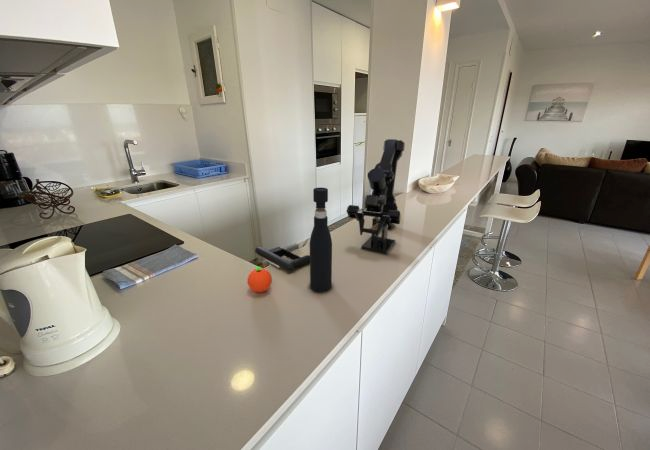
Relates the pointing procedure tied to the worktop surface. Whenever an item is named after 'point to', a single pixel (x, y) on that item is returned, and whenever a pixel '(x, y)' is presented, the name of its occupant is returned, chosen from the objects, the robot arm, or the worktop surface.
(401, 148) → the robot arm
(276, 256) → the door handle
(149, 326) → the worktop surface
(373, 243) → the bracket
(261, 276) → the clementine
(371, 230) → the lever
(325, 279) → the black bottle
